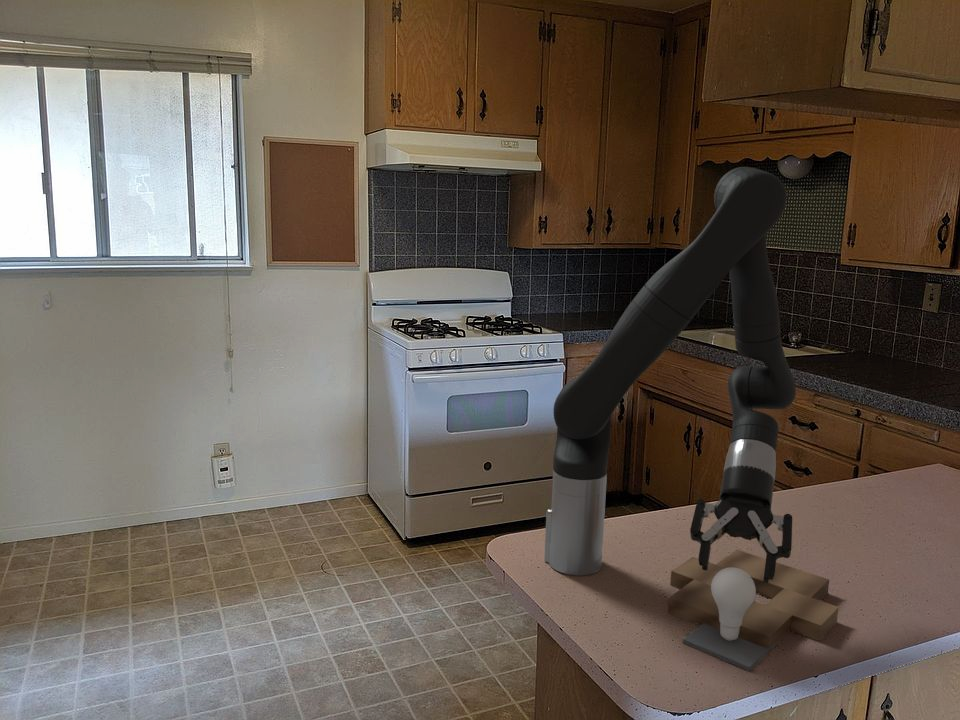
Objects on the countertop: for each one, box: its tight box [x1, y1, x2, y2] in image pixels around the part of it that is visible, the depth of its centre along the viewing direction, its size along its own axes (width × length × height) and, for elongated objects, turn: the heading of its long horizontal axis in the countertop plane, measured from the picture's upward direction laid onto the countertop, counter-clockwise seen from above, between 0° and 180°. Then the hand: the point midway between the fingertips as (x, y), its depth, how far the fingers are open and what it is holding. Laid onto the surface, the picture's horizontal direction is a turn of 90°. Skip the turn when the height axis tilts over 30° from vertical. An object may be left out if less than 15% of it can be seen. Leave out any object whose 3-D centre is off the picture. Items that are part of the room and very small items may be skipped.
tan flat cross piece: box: [667, 549, 839, 653], centre depth 125 cm, size 24×24×2 cm
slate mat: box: [682, 623, 777, 672], centre depth 113 cm, size 10×9×1 cm
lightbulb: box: [711, 567, 757, 641], centre depth 112 cm, size 6×6×11 cm
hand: (735, 574), depth 113 cm, fingers open, 8 cm apart
